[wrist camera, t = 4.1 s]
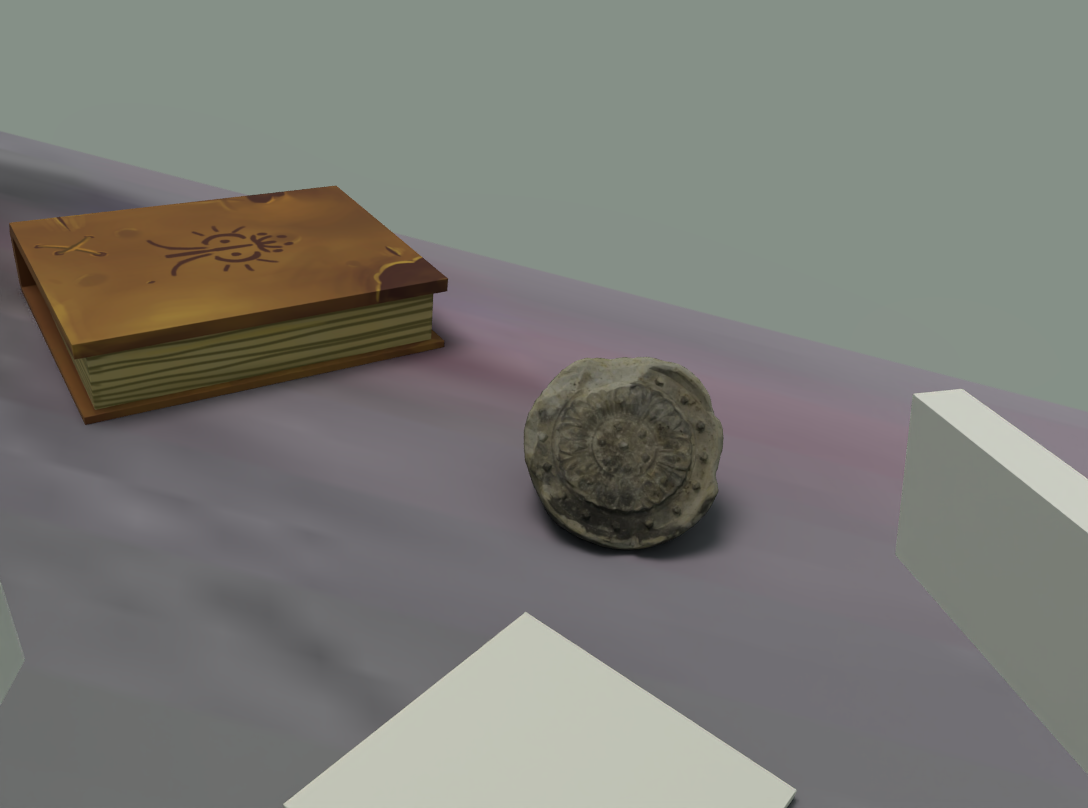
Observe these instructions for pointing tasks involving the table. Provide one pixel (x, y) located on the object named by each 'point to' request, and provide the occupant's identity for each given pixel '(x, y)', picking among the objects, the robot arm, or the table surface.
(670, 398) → the fossil
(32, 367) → the table surface
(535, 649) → the mat
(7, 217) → the table surface
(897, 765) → the table surface
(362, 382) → the table surface
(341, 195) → the diary
